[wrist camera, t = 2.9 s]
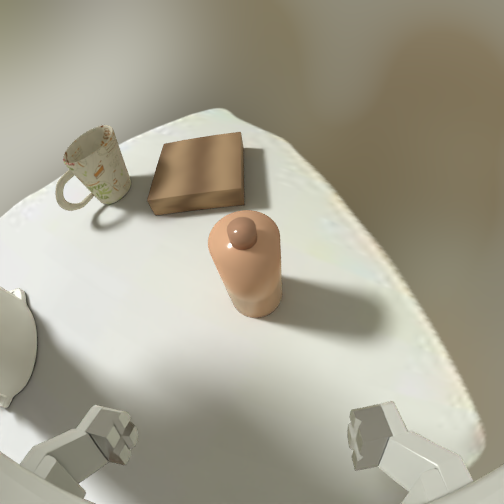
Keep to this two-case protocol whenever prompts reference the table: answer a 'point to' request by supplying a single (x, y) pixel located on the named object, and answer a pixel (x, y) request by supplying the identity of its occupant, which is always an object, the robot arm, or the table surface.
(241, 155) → the pedestal
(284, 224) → the table surface
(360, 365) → the table surface
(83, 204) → the mug
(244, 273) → the canister
